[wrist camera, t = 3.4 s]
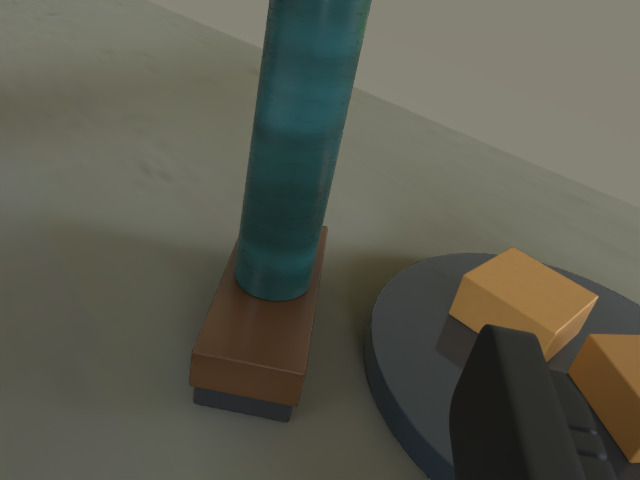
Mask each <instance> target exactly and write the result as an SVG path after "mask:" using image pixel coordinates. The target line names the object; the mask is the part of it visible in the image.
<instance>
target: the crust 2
mask: <svg viewBox="0 0 640 480" xmlns="http://www.w3.org/2000/svg"><path fill="white" fill-rule="evenodd" d="M568 374H569V376H570V377H571V378H572V380H573V381H574V383H575V384H576V386H577V387H578V389H579V390H580V391H581V393H582V394H583V396H584V397H585V399H586V400H587V402H588V403H589V404H590V406H591V407H592V409H593V410H594V412H595V413H596V415H597V416H598V417H599V419H600V420H601V422H602V423H603V425H604V426H605V428H606V429H607V430H608V432H609V433H610V435H611V436H612V438H613V439H614V441H615V442H616V443H617V445H618V446H619V448H620V449H621V451H622V452H623V454H624V455H625V456H626V458H627V459H628V461H629V462H630V463H640V335H625V334H589V335H588V337H587V338H586V340H585V342H584V344H583V345H582V347H581V349H580V351H579V352H578V354H577V356H576V358H575V359H574V361H573V363H572V365H571V367H570V368H569V370H568Z"/></svg>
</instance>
